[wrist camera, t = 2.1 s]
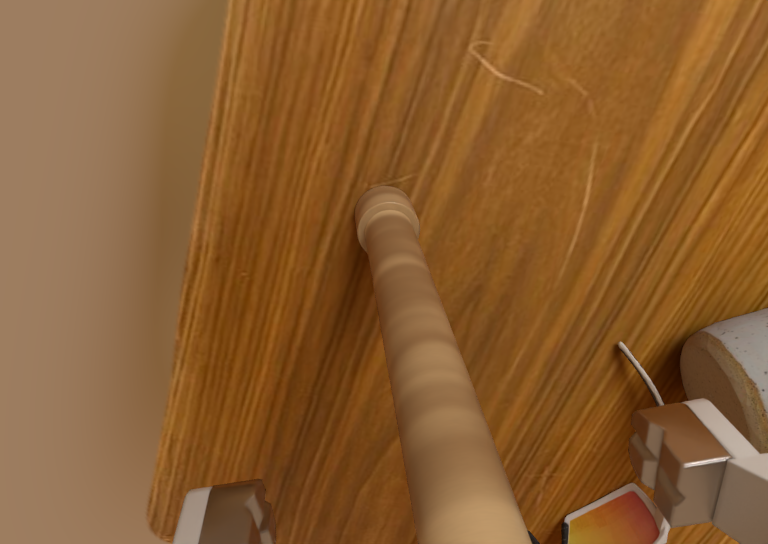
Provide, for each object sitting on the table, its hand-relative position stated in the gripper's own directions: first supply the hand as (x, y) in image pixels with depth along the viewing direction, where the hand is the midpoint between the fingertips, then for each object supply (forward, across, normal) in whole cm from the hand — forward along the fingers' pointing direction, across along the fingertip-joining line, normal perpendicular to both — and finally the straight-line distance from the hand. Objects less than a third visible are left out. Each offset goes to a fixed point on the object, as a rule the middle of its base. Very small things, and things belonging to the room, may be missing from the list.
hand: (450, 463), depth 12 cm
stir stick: (+14, 0, 0) cm, 14 cm away
